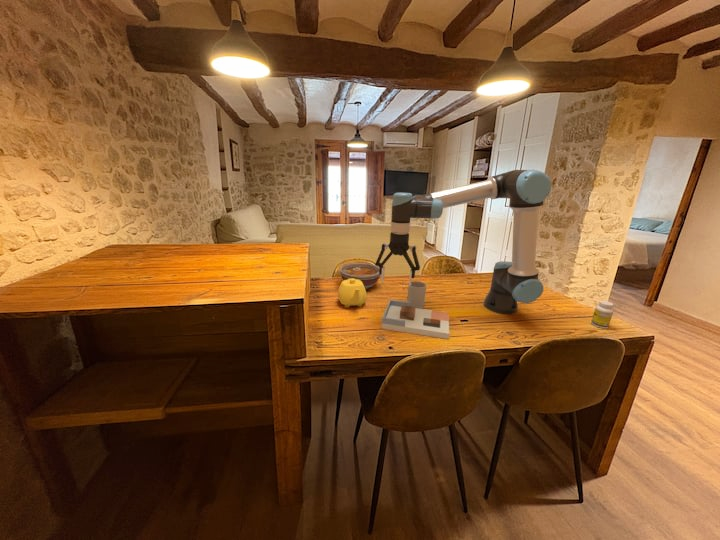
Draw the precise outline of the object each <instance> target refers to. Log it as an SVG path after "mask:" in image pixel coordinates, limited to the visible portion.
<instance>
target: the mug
mask: <svg viewBox="0 0 720 540" xmlns="http://www.w3.org/2000/svg"><path fill="white" fill-rule="evenodd" d="M426 291H427V284H426V283H425V282H422V281H417V280H414V281H411V286H409V283H408V287H407V296H406V298H407V299H406V302H410V306H411V307H416V308H419V309H424V307H425V302H426V301H425V300H426V299H425V298H426Z"/></svg>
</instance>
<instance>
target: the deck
mask: <svg viewBox="0 0 720 540" xmlns="http://www.w3.org/2000/svg"><path fill="white" fill-rule="evenodd" d="M402 305H404V306H410V302H407V301H404V300H396V299H389V301H388V303H387V306H386V308H385V311H384V312H383V315H382V317H381V329H382V330H387V331H388V330H389V331H394V332H400V333H406V334H407V333H408V334H413V335H419V336H427V337H430V338H431V337H432V338H439V339H444V340H449V337H450V313H449V312H447V311H441V310H440V311H439V310H431V309H425V308H416V309H415V317H414V321H413V320H407V319H400V310H401V307H402Z"/></svg>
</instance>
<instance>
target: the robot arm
mask: <svg viewBox="0 0 720 540" xmlns="http://www.w3.org/2000/svg"><path fill="white" fill-rule="evenodd" d="M551 190H552V182H551V178H550V177H549V176H548V175H547V174H546V173H545V172H544V171H541V170H537V169H536V170H535V169H514V170H510V171H509V170H508V171H506V172H503V173H499V174H496V175H493V176H489V177H488V178H487V179H486V180H483V181H478V182H473V183H469V184H464V185H461V186H456V187H455V186H454V187H452V188H448V189H442V190H438V191H435V192H434V191H433V192H431V193H426V194H415V195H414V196H413V194H412V193H410V192H395V193H393V195H392V204H391V221H390V233H389V237H390V238H389V243H385V242H383V243H382V244H381V250H380V252H379V255H378V257H377V259H376V261H375V264H374V265H375V266H378V267H379V274H380V276H381V278H380V280H381V281H380V283H381V284H382V283H384V282H385V270H386V268H385V264H386V263H387V262H388V260H389V259H390V258H391V257H392V256H403V257H404V259H405V261H406V263H407V264H408V266H409V267H410V270H409V277H408V279H409V280H408V284H409V286H411V282H412V279H414V278H415V277H416V276H415V275H416V272H417V271H419V270H420V269H421V266H420V262H419V259H418V255H417V246H416V245H410V244H409V241H410V239H409V238H410V228H411V219H431V220H433V219H440V218H441V217H442V214H443V212H444V209H445V208H446V209H447V208H451V207H454V206H459V205H464V204H468V203H472V202H477V201H481V200H486V199H491V200H496V199H509V208H510V209H511V210H512V211H513V218H512V219H513V225H512V246H511V247H512V250H511V251H512V252H511V253H512V254H511V261H503V260H502V261H497V262H495V264H494V267H493V272H492V276H491V277H492V278H491V282H490V289H489V291H488V293H487V295H486V297H485V298H484V301H483V306H484V307H485V308H486V309H487V310H489V311H491V312H495V313H498V314H504V315H507V314H508V315H510V314H516V312H518V307H519V304H518V303H520V304H521V303H522V304H530V303H533V302H535V301H536V300H538V299H539V298H541V296H542V295H543V292H544V285H543V282H541V280H539V269H538V268H537V267H536V255H537V254H536V252H537V238H538V222H539V211H540V209H541V208H542V207H543V206H544V201H545V200H546V199H547V197H548V196H549V194H550V193H551ZM387 249H389V250H390V251H389V253H388V254H387V255H386V256H385V258H384V259H383V260H382V262H381V259H382V257H383V256H384V253H385V251H386V250H387ZM408 250H410V252H411V254H412V258H413V261H414V263H413V261H412V259H411V258H410V255H409V254H408Z"/></svg>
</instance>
